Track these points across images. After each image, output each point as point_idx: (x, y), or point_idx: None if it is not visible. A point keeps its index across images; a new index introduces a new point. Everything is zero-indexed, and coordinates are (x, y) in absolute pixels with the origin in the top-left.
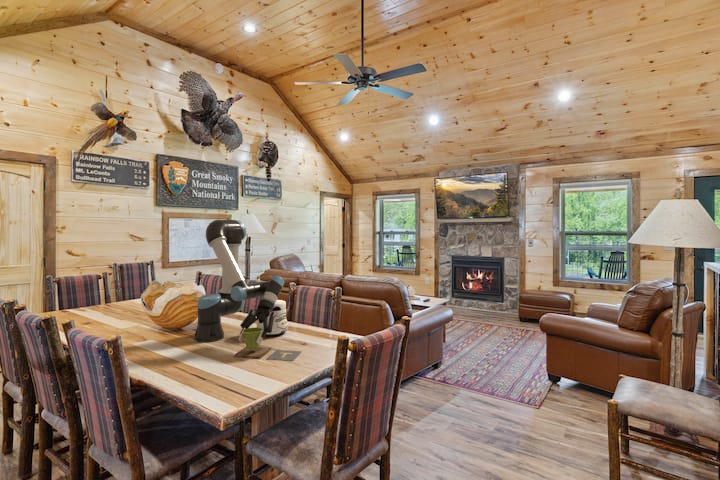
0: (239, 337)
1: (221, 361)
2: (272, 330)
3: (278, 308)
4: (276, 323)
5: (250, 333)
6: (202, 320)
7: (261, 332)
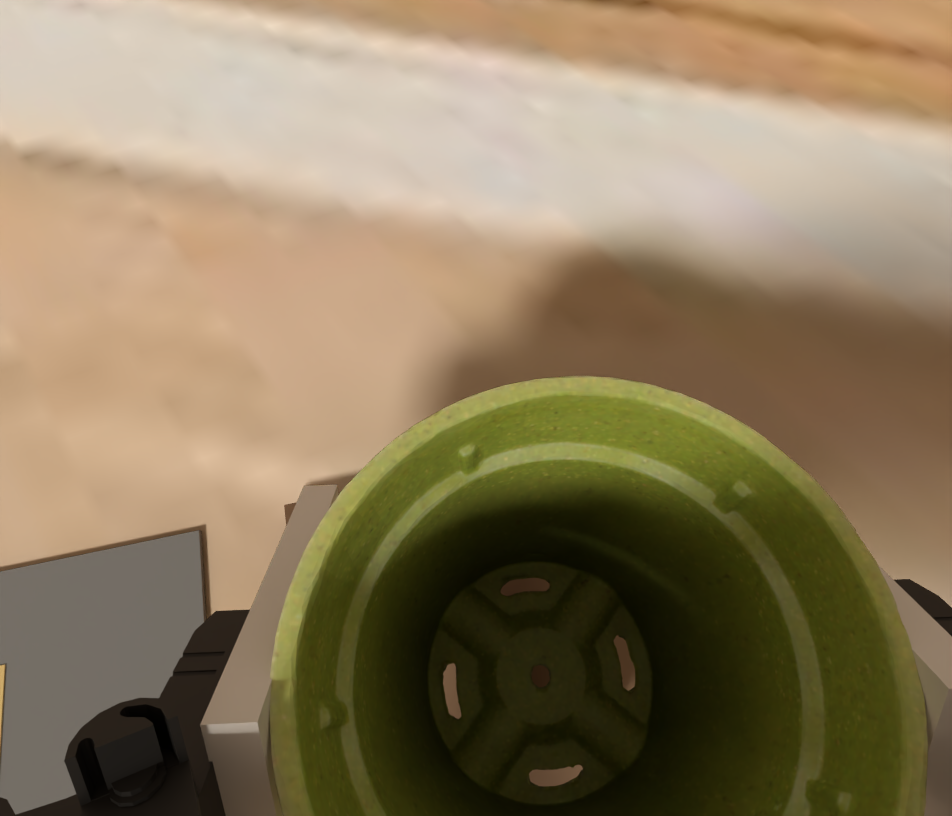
0: None
1: (674, 278)
2: None
3: None
4: None
5: (467, 402)
6: None
7: (251, 645)
